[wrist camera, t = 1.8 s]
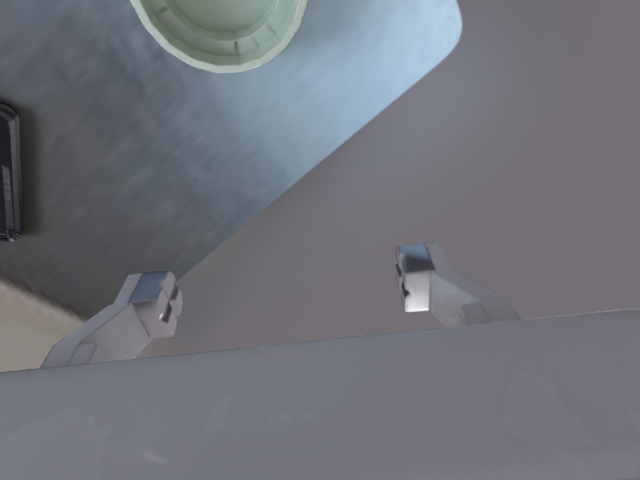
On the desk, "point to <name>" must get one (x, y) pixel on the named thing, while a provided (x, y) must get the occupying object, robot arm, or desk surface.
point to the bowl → (222, 30)
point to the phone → (10, 176)
